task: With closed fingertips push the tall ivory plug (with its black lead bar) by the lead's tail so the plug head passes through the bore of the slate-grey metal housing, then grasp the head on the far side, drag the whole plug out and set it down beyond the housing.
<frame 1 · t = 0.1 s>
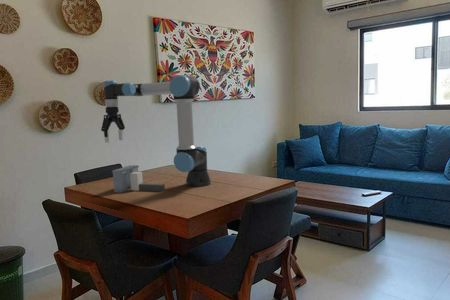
hand: (114, 141, 231), 28 cm above the table, fingers open, 13 cm apart
housing: (127, 188, 223), on the table
plug: (137, 189, 221), on the table
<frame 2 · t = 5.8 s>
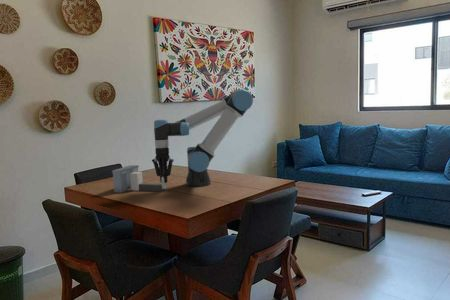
hand: (164, 188, 214), 2 cm above the table, fingers closed
plug: (137, 189, 221), on the table, touching gripper
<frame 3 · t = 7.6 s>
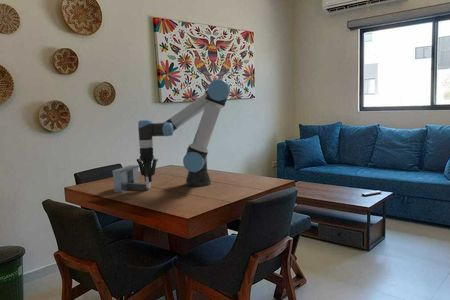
hand: (148, 187, 218), 2 cm above the table, fingers closed
plug: (122, 188, 225), on the table, touching gripper
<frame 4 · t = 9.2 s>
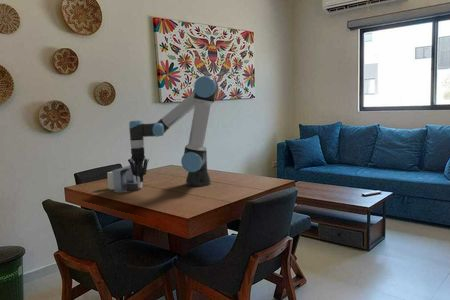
hand: (140, 187, 220), 1 cm above the table, fingers closed
plug: (114, 188, 227), on the table, touching gripper
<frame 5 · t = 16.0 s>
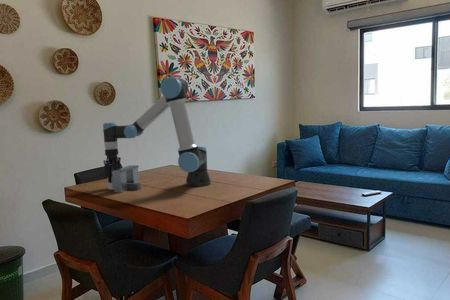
hand: (114, 186, 226), 1 cm above the table, fingers closed on plug, 5 cm apart
plug: (114, 188, 227), on the table, touching gripper
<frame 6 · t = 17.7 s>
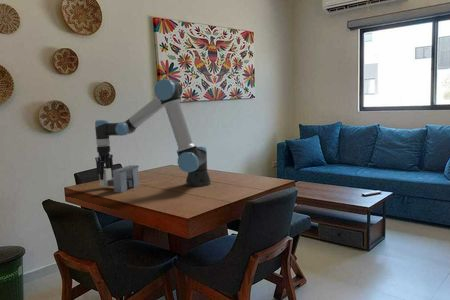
hand: (106, 183, 228), 3 cm above the table, fingers closed on plug, 5 cm apart
plug: (106, 185, 228), point 2 cm above the table, touching gripper
when the fingers open (1 cm above the table, at t = 19.6 s): plug stays where it is, on the table.
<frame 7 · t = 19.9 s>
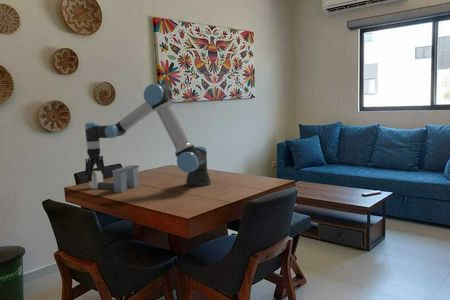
hand: (96, 184, 231), 2 cm above the table, fingers open, 8 cm apart
plug: (96, 187, 231), on the table
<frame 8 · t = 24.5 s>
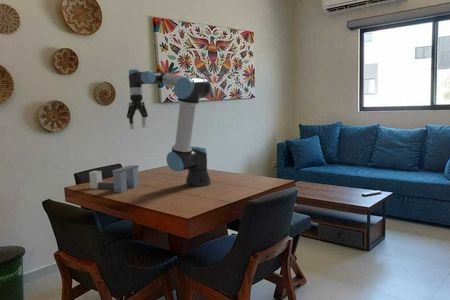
hand: (138, 128, 240), 35 cm above the table, fingers open, 13 cm apart
nothing on the table moved.
at the end: plug inside the target area (3.4 cm from its centre), on the table; plug touching table; the gripper is holding nothing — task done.
